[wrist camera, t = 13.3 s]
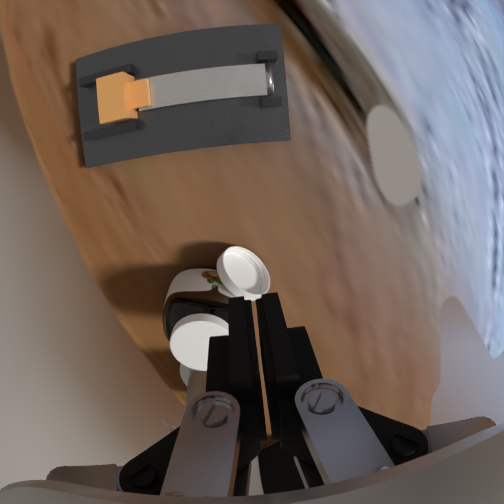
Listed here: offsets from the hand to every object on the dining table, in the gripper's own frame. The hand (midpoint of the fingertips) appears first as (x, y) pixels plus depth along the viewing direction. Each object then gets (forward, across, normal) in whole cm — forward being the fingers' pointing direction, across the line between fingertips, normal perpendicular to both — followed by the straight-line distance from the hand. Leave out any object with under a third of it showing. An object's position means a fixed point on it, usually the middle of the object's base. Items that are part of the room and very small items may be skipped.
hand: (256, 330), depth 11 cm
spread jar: (+27, +4, +12) cm, 30 cm away
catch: (+25, +11, -12) cm, 30 cm away
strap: (+25, +2, -12) cm, 28 cm away
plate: (+27, +6, -12) cm, 30 cm away
